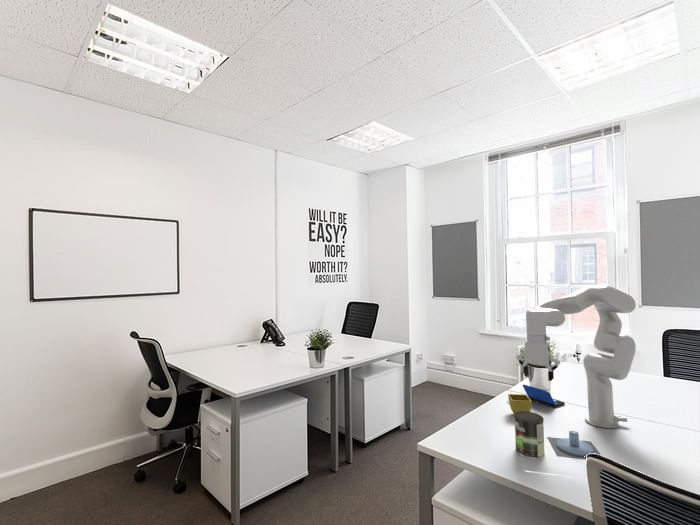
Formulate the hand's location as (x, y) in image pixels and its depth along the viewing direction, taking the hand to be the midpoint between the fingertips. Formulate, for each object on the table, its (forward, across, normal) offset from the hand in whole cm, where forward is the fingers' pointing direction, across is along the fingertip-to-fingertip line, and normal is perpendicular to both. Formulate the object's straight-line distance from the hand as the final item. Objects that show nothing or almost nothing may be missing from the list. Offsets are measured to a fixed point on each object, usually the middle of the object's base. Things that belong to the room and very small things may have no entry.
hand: (538, 378), depth 151 cm
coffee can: (+24, -2, +19) cm, 31 cm away
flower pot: (+24, +14, -14) cm, 31 cm away
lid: (+24, -14, +5) cm, 28 cm away
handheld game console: (+25, +11, -40) cm, 49 cm away
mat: (+24, -14, +5) cm, 28 cm away
